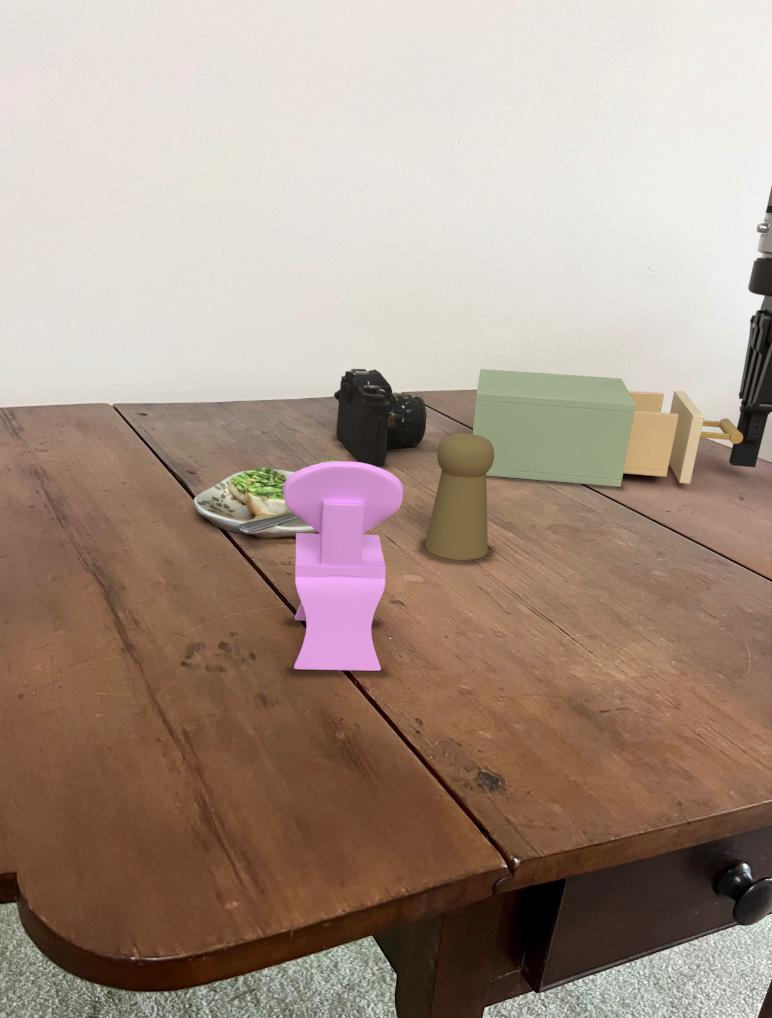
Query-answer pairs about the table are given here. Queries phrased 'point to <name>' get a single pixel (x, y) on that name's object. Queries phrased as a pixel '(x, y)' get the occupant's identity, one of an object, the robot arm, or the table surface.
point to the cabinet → (555, 426)
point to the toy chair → (340, 560)
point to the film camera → (376, 416)
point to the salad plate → (252, 504)
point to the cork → (461, 498)
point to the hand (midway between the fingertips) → (741, 464)
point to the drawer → (669, 435)
